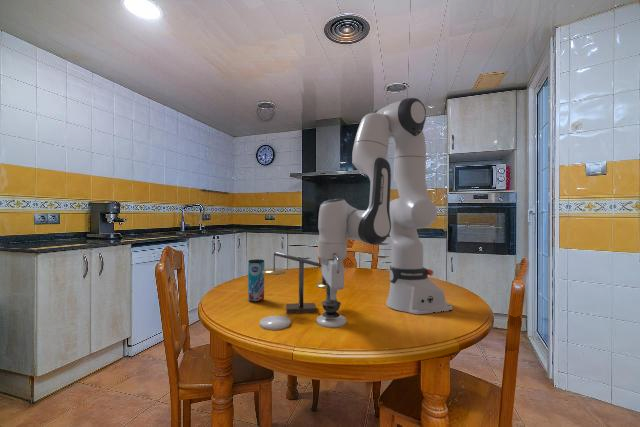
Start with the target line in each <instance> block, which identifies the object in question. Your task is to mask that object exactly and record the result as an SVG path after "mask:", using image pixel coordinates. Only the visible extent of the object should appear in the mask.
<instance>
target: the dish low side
mask: <svg viewBox="0 0 640 427" xmlns="http://www.w3.org/2000/svg"><path fill="white" fill-rule="evenodd" d="M316 324H317V325H319V326H320V327H323V328H340V327H341V328H342V327H344V326H346V324H347V317H345V316H344V315H341V314H340V316H339V317H336V318H327V317H324V316H323V315H322V314H320V315H319V316H317V317H316Z"/></svg>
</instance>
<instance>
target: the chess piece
mask: <svg viewBox="0 0 640 427" xmlns="http://www.w3.org/2000/svg"><path fill="white" fill-rule="evenodd" d="M325 292H326V294H325V295H326V298H325V300H323V301H322V302H321V305H322V309H323V310H324V312H323V313H322V314H321V315H323V316H324V317H327V318H336V317H339V316H340V315H341V314H340V313H339V309H340V306H342V303H341V302H340V301H338V299H337V298H336V300H331V299H330V286H329V285H328V283H327V289H325Z"/></svg>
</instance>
